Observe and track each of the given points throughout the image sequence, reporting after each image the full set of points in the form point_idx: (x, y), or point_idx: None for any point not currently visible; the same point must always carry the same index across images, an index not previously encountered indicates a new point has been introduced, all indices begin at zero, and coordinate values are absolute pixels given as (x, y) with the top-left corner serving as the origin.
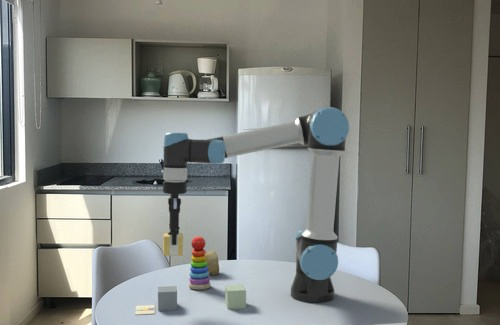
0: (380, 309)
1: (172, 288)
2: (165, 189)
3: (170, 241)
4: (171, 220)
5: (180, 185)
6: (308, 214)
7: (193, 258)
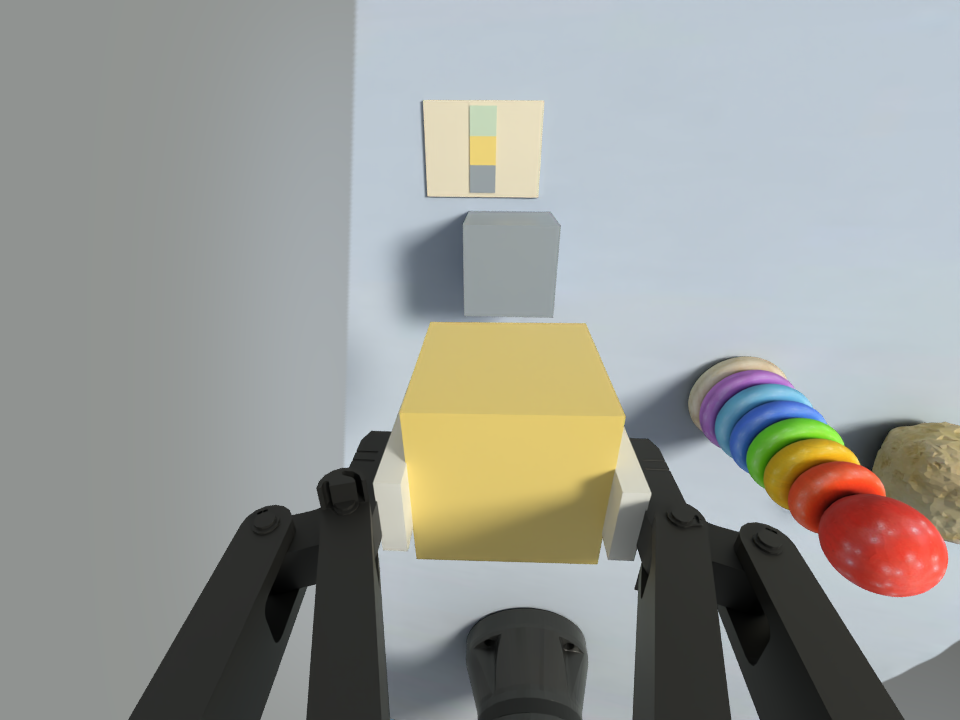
0: (404, 710)
1: (515, 297)
2: None
3: (392, 439)
4: (148, 694)
5: None
6: None
7: (799, 453)
